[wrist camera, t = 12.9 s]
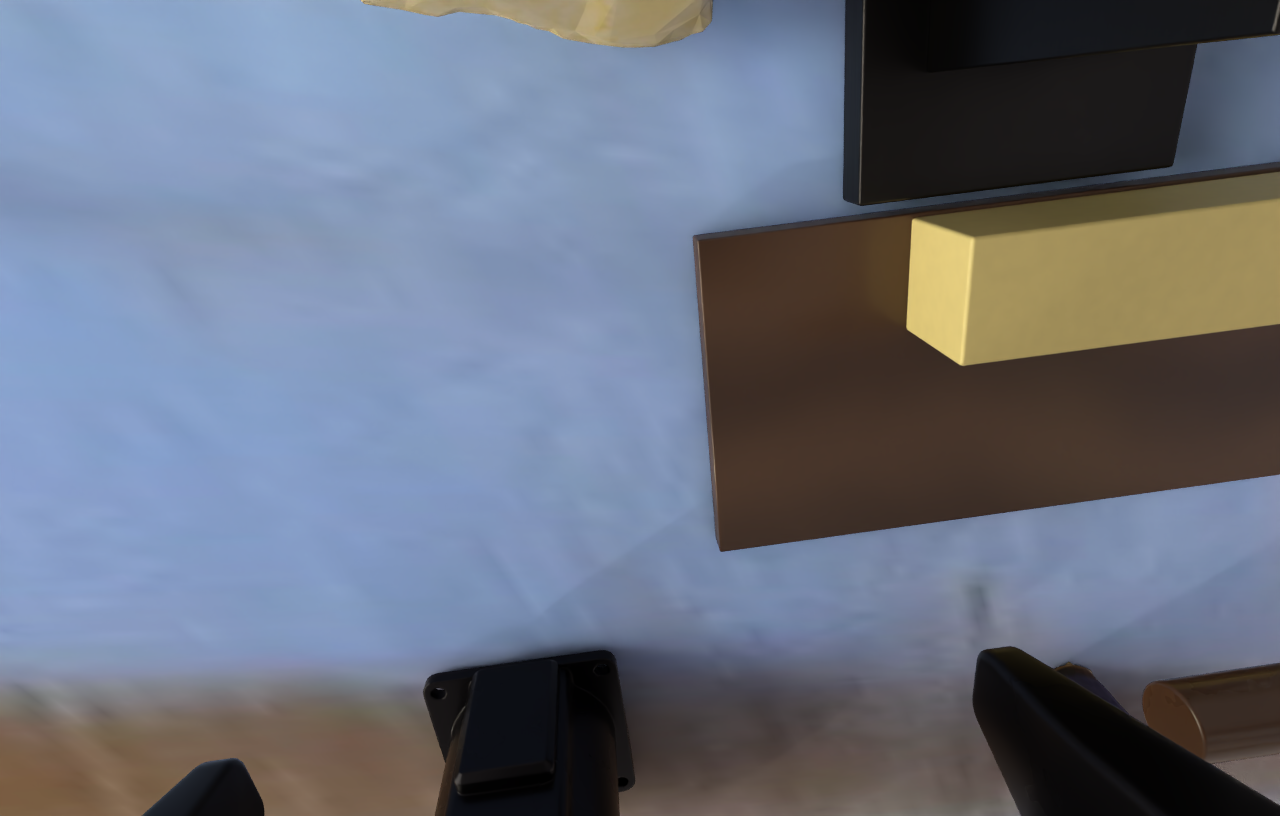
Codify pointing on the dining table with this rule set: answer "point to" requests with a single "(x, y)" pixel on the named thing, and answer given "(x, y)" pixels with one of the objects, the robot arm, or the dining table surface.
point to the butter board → (944, 392)
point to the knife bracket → (1020, 89)
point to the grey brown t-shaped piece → (1219, 712)
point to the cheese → (584, 17)
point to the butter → (1097, 270)
